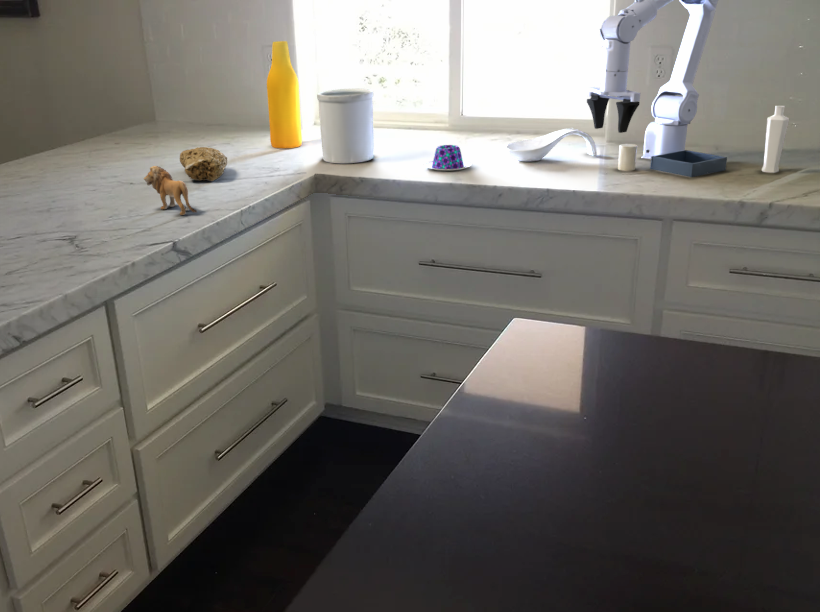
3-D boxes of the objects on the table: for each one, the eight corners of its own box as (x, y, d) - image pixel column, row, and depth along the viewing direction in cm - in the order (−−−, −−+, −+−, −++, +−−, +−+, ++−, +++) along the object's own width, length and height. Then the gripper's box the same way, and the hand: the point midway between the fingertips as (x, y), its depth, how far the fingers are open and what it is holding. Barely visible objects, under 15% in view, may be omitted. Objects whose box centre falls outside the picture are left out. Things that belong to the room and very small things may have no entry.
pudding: (439, 161, 227) (439, 140, 224) (480, 165, 220) (480, 144, 218) (415, 169, 218) (414, 148, 216) (457, 174, 211) (457, 152, 209)
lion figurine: (144, 208, 190) (139, 167, 187) (163, 203, 194) (158, 162, 190) (188, 217, 181) (183, 174, 178) (207, 212, 185) (202, 169, 182)
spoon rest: (512, 165, 218) (513, 136, 216) (498, 156, 229) (499, 129, 226) (602, 159, 221) (604, 131, 218) (584, 151, 232) (586, 124, 229)
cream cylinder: (614, 170, 209) (616, 145, 207) (623, 168, 211) (625, 143, 209) (629, 172, 206) (631, 147, 204) (638, 170, 209) (640, 145, 206)
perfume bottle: (783, 174, 199) (794, 107, 193) (762, 174, 200) (772, 107, 194) (778, 170, 203) (788, 104, 197) (758, 170, 204) (768, 104, 198)
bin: (649, 170, 208) (651, 156, 207) (683, 163, 213) (685, 149, 212) (690, 178, 198) (692, 163, 197) (725, 171, 204) (727, 157, 203)
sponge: (228, 186, 213) (233, 154, 229) (218, 157, 209) (225, 126, 225) (177, 197, 214) (186, 165, 230) (166, 168, 210) (176, 137, 226)
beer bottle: (274, 143, 260) (267, 40, 248) (304, 142, 258) (299, 40, 247) (267, 148, 251) (260, 43, 240) (298, 148, 250) (292, 42, 239)
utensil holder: (311, 163, 230) (307, 94, 223) (333, 152, 243) (330, 87, 236) (362, 165, 225) (360, 95, 218) (382, 154, 238) (381, 88, 231)
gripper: (580, 70, 205) (576, 128, 211) (626, 74, 194) (621, 136, 199) (601, 67, 208) (597, 125, 214) (648, 71, 197) (643, 132, 202)
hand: (610, 130), depth 207 cm, fingers open, 7 cm apart
